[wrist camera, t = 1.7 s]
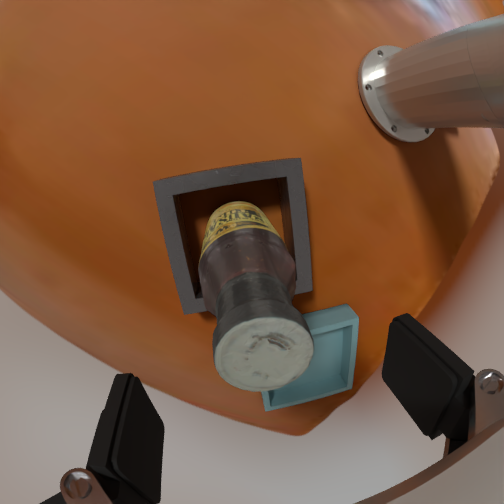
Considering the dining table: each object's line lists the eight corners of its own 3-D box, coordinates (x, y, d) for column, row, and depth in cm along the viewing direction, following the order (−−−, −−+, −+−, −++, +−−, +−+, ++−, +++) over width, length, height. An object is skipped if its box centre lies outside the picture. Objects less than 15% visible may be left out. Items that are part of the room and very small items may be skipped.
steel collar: (289, 158, 27) (300, 157, 23) (301, 275, 31) (312, 290, 28) (161, 179, 26) (152, 181, 22) (187, 296, 30) (184, 314, 27)
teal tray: (346, 303, 34) (358, 317, 30) (343, 373, 38) (351, 388, 34) (248, 325, 33) (252, 342, 29) (261, 394, 37) (265, 411, 33)
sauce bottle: (249, 187, 28) (324, 243, 9) (276, 239, 30) (369, 360, 11) (192, 219, 28) (155, 332, 9) (222, 269, 30) (241, 423, 11)
